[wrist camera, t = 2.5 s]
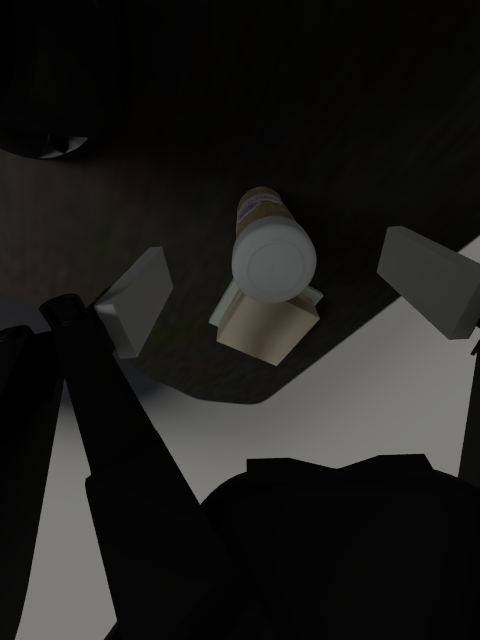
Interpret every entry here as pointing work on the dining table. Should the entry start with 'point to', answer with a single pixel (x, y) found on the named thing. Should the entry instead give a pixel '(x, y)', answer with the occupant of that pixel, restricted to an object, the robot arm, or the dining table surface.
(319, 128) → the dining table surface
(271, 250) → the sprinkles bottle
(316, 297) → the plate
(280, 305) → the beech block
